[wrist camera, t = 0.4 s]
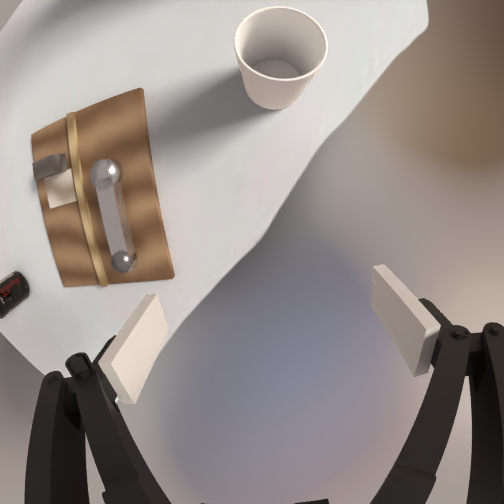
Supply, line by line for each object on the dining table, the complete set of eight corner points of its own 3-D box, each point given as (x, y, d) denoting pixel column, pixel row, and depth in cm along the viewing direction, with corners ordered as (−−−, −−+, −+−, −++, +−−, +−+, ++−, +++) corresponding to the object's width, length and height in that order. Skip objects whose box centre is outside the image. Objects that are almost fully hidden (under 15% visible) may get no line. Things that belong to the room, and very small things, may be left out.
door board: (35, 134, 36) (17, 135, 31) (143, 89, 34) (129, 82, 29) (67, 284, 46) (53, 295, 41) (174, 275, 44) (165, 289, 39)
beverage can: (12, 265, 45) (-21, 287, 34) (30, 275, 46) (-4, 301, 34) (15, 289, 47) (-16, 313, 36) (33, 301, 48) (2, 327, 37)
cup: (311, 71, 33) (340, 27, 18) (289, 118, 35) (308, 96, 20) (258, 50, 32) (255, -5, 17) (235, 97, 34) (217, 62, 19)
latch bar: (96, 162, 35) (85, 164, 33) (120, 155, 35) (110, 156, 32) (119, 266, 41) (111, 274, 38) (142, 264, 41) (135, 272, 38)
